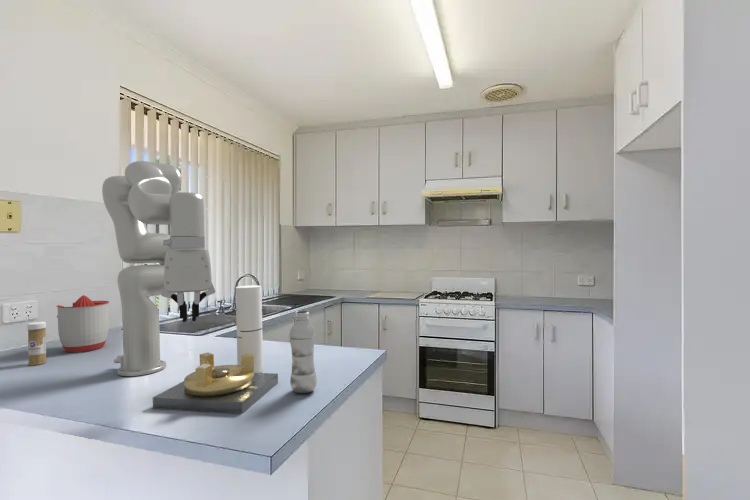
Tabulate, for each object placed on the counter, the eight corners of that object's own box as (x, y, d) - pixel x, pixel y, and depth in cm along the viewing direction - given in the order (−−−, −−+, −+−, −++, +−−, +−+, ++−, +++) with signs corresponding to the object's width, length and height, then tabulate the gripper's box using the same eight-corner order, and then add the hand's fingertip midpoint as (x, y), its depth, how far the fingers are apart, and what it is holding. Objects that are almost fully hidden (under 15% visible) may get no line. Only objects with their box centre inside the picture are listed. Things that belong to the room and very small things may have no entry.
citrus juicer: (79, 343, 152) (78, 292, 152) (120, 343, 150) (119, 292, 150) (41, 354, 137) (39, 298, 136) (86, 355, 135) (85, 298, 135)
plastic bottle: (305, 398, 93) (303, 315, 92) (284, 393, 96) (282, 312, 96) (322, 389, 98) (320, 310, 98) (302, 385, 102) (300, 309, 101)
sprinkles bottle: (25, 366, 123) (24, 324, 122) (31, 362, 127) (30, 322, 127) (43, 364, 124) (42, 323, 124) (49, 361, 128) (48, 320, 128)
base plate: (152, 408, 88) (152, 395, 88) (203, 379, 107) (202, 369, 107) (242, 413, 85) (242, 400, 85) (278, 382, 104) (277, 372, 103)
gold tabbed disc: (168, 394, 89) (168, 366, 89) (209, 371, 105) (208, 348, 105) (233, 397, 87) (232, 368, 87) (264, 373, 103) (264, 349, 102)
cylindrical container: (255, 376, 109) (253, 288, 109) (232, 375, 111) (230, 287, 110) (267, 368, 116) (265, 285, 116) (245, 367, 118) (244, 285, 117)
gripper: (147, 244, 87) (149, 326, 87) (222, 243, 92) (224, 320, 93) (153, 245, 94) (155, 320, 94) (222, 244, 100) (224, 315, 100)
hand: (189, 320), depth 93 cm, fingers closed
